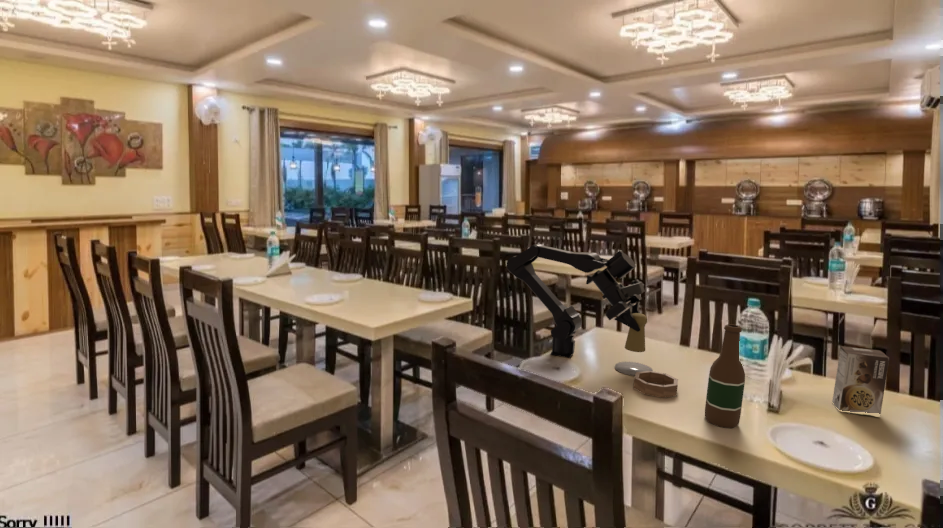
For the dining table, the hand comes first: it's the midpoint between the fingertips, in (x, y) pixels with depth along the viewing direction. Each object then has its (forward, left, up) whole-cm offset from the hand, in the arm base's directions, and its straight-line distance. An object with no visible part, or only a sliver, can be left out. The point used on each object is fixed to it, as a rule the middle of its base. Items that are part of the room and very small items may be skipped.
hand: (641, 328), depth 158 cm
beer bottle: (+22, -27, -13) cm, 37 cm away
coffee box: (+55, -3, -13) cm, 56 cm away
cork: (-1, 0, -7) cm, 7 cm away
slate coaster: (-1, 0, -13) cm, 13 cm away
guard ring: (+6, -13, -13) cm, 19 cm away
